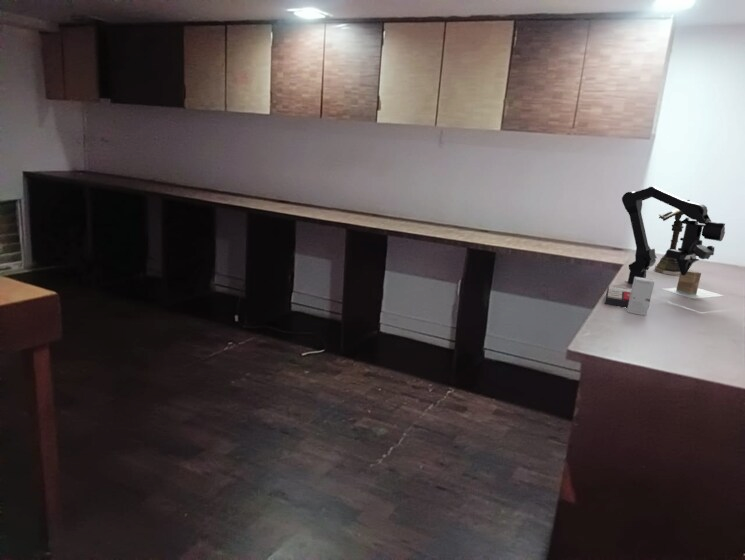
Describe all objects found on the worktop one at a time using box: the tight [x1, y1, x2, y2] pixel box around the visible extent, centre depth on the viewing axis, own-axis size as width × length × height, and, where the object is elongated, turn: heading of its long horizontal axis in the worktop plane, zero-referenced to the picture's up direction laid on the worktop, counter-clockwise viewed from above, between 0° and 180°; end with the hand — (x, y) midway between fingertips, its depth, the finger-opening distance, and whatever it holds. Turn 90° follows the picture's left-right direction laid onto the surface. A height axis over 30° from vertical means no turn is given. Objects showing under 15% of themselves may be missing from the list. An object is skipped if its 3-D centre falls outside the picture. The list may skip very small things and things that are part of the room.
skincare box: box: [626, 277, 655, 316], centre depth 195 cm, size 6×4×12 cm
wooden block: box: [676, 269, 702, 295], centre depth 228 cm, size 4×6×9 cm, turn 26°
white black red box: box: [604, 286, 632, 309], centre depth 208 cm, size 11×4×15 cm
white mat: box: [662, 287, 724, 300], centre depth 231 cm, size 20×14×1 cm
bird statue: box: [654, 199, 691, 276], centre depth 265 cm, size 17×13×35 cm
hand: (683, 275), depth 225 cm, fingers closed
